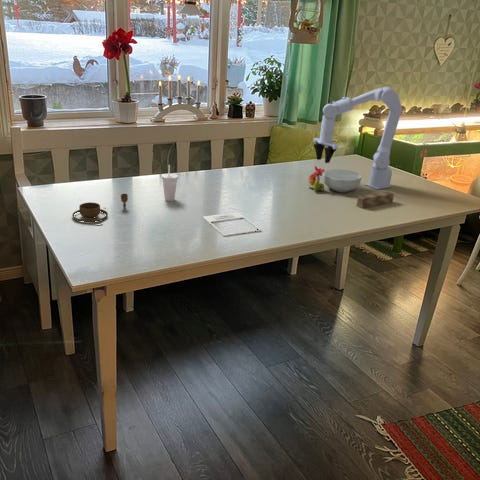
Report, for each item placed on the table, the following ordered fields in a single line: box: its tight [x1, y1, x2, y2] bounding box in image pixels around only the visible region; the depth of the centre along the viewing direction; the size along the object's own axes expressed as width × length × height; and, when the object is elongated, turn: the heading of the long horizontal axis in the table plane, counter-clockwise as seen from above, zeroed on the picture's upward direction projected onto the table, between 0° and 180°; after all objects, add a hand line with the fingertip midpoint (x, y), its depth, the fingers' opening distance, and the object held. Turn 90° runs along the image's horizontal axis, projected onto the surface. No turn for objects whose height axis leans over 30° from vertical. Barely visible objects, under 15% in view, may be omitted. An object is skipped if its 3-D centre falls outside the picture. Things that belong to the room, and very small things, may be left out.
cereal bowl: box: [322, 168, 362, 193], centre depth 225 cm, size 17×17×7 cm
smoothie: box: [161, 164, 179, 202], centre depth 197 cm, size 6×6×14 cm
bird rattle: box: [307, 166, 326, 193], centre depth 222 cm, size 6×11×9 cm
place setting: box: [72, 193, 129, 222], centre depth 178 cm, size 18×20×6 cm
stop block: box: [356, 191, 395, 209], centre depth 210 cm, size 18×3×4 cm, turn 122°
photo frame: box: [202, 211, 263, 237], centre depth 180 cm, size 15×1×18 cm
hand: (323, 161), depth 233 cm, fingers open, 5 cm apart
